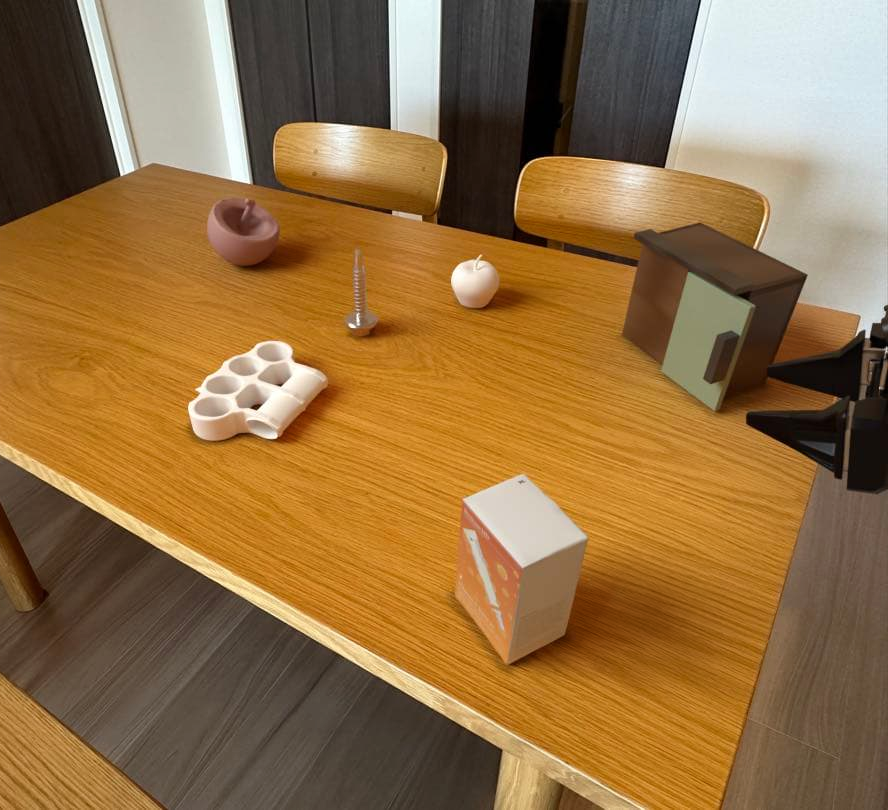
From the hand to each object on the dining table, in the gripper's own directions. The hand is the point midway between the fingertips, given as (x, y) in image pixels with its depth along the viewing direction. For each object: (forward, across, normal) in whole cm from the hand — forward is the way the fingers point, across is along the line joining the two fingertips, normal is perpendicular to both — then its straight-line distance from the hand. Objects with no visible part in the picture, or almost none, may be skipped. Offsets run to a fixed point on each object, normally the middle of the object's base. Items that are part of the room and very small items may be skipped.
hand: (757, 393), depth 61 cm
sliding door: (+11, -19, +10) cm, 24 cm away
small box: (+16, +21, +13) cm, 29 cm away
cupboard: (+13, -26, +10) cm, 31 cm away
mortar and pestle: (+80, -19, -9) cm, 83 cm away
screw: (+52, -11, 0) cm, 53 cm away
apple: (+42, -26, +1) cm, 50 cm away
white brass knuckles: (+54, +10, +1) cm, 55 cm away
